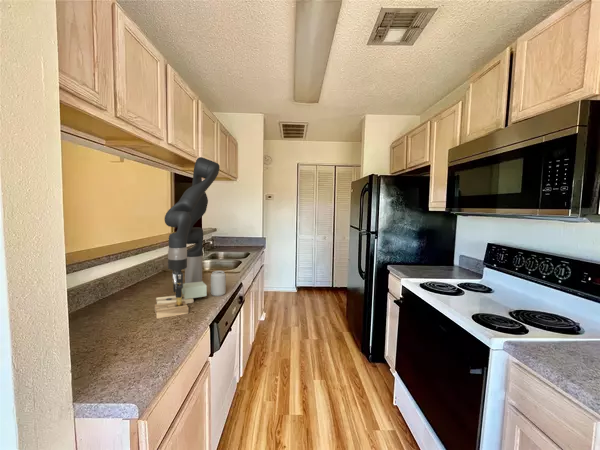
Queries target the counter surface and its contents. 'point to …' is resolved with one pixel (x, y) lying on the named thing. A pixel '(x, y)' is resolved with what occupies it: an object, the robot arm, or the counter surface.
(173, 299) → the board
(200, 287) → the cover
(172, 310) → the socket board
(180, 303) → the peg
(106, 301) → the counter surface
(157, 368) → the counter surface
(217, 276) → the can
